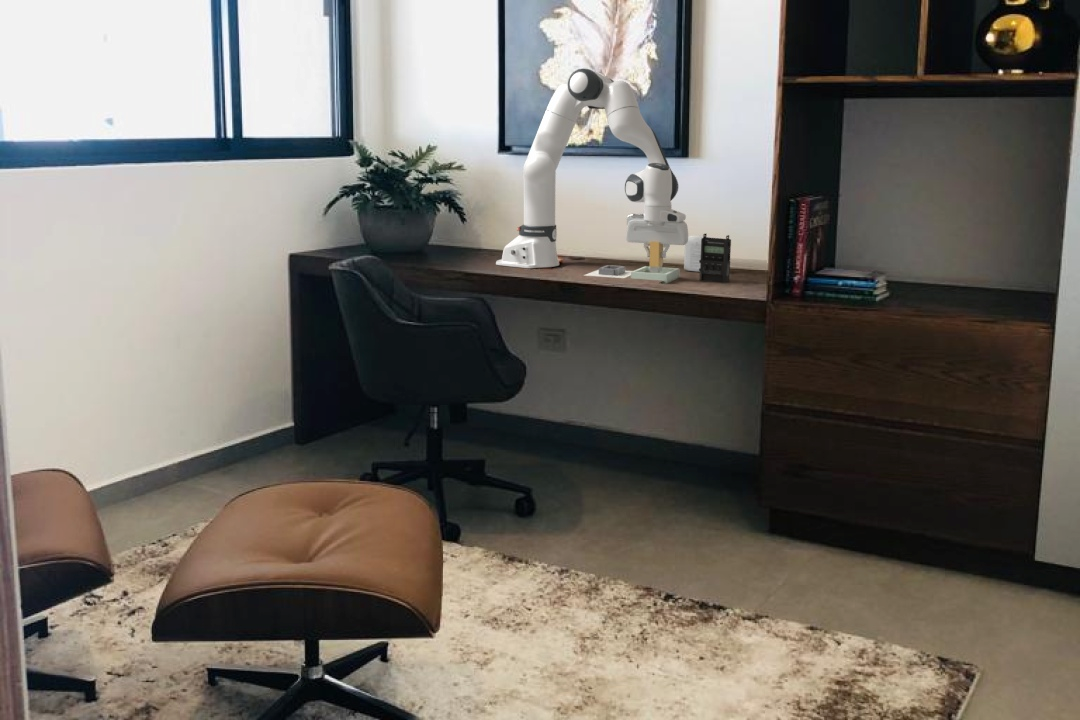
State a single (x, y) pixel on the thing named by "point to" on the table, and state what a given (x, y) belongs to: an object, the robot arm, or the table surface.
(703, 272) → the geiger counter
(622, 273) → the panel
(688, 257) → the photo printer
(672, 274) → the parts tray
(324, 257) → the table surface
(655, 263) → the block
